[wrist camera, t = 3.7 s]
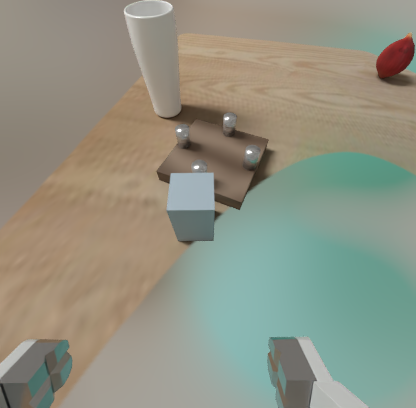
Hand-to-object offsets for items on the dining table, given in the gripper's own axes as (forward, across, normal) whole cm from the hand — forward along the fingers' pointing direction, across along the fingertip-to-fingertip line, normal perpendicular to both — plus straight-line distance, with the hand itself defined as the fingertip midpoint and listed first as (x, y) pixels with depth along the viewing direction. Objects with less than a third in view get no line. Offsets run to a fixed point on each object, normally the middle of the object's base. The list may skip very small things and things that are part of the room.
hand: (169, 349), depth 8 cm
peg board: (+26, -3, -6) cm, 27 cm away
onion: (+44, -41, -24) cm, 65 cm away
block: (+19, 0, +1) cm, 19 cm away
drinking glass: (+37, +6, -16) cm, 40 cm away
